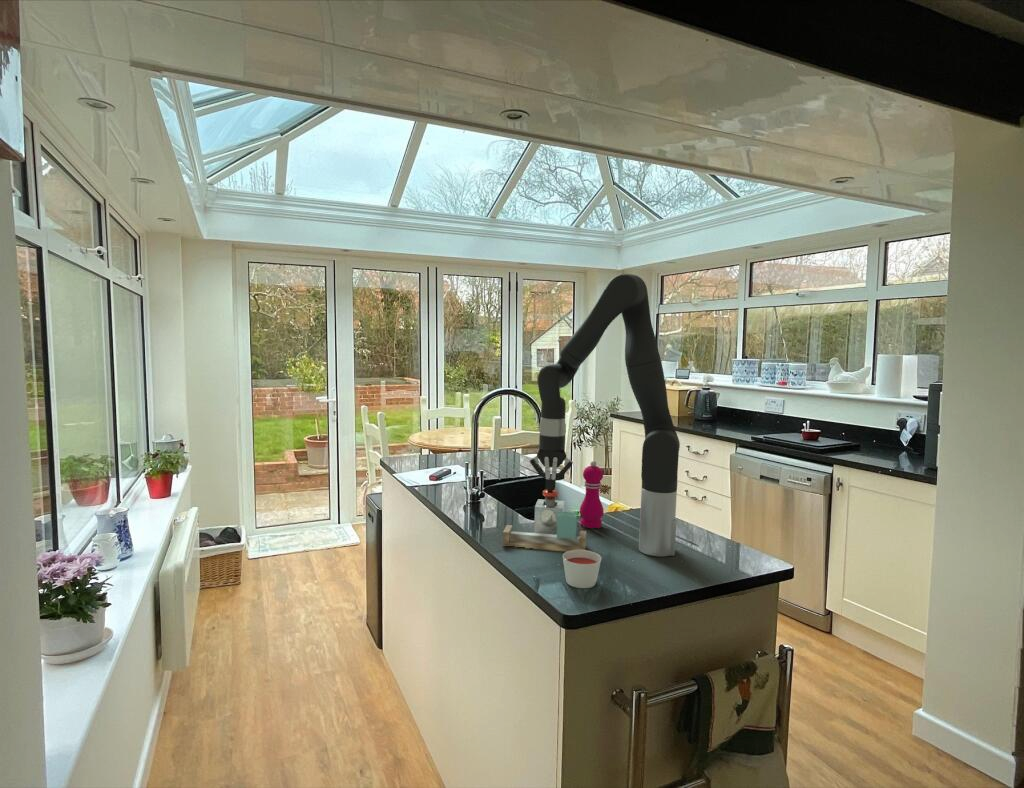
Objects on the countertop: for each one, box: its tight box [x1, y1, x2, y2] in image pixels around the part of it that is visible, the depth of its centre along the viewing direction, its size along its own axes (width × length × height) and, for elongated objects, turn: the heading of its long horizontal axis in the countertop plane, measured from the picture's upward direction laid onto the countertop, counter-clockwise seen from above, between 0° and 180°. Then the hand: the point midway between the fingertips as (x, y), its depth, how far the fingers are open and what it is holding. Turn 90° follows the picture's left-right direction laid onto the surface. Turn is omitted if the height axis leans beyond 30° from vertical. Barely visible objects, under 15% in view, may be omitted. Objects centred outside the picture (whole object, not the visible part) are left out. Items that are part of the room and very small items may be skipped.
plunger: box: [542, 489, 559, 506], centre depth 177 cm, size 4×4×9 cm
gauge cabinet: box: [533, 498, 566, 535], centre depth 177 cm, size 8×8×8 cm
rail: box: [502, 524, 587, 552], centre depth 165 cm, size 22×6×4 cm, turn 81°
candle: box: [562, 549, 602, 589], centre depth 141 cm, size 9×9×6 cm
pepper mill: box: [579, 460, 604, 529], centre depth 182 cm, size 7×7×20 cm
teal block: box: [557, 511, 578, 539], centre depth 163 cm, size 5×4×6 cm
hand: (550, 491), depth 176 cm, fingers closed
